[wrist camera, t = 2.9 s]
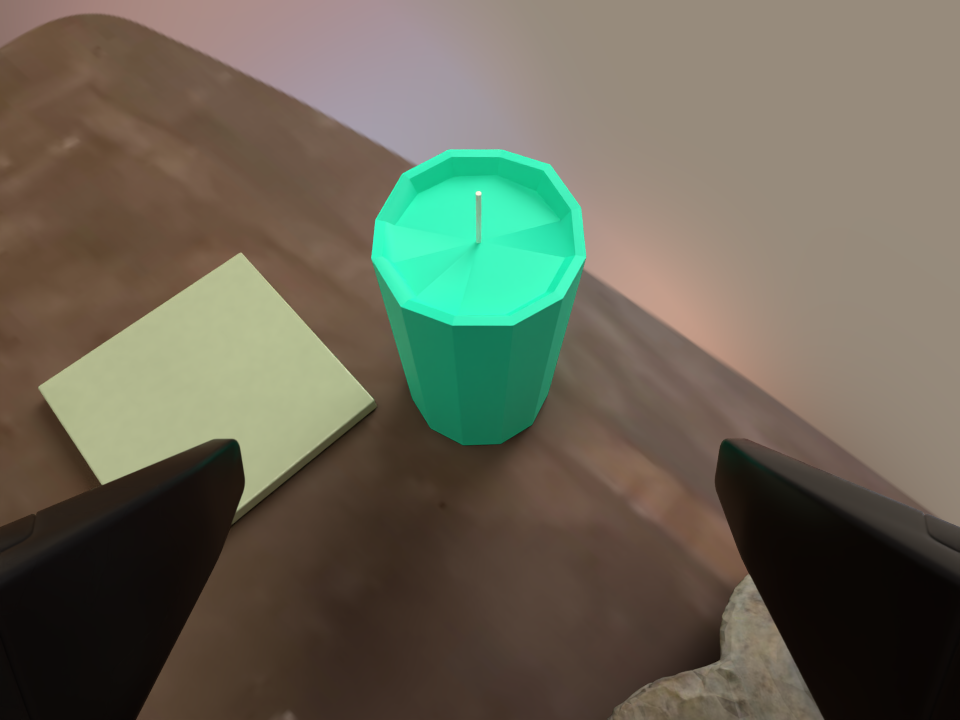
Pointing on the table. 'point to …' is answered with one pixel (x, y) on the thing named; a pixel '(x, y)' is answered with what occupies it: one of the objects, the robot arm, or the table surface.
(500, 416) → the candle
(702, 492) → the table surface
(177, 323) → the tile
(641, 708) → the fossilized seashell
